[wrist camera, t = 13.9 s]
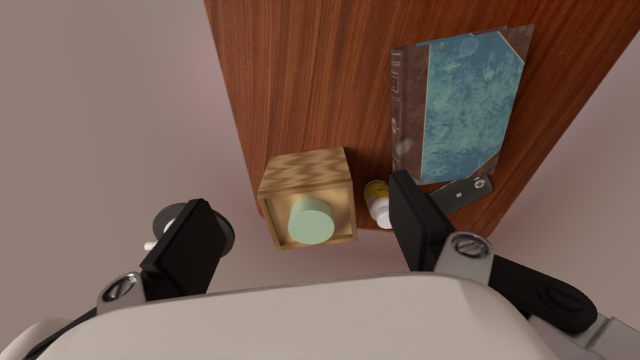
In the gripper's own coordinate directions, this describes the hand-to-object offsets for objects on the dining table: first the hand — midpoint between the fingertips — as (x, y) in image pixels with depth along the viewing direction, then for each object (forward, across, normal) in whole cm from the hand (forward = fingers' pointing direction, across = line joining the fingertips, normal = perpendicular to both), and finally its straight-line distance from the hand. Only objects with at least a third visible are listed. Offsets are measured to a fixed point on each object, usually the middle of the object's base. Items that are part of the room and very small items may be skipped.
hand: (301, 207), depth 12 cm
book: (+31, -22, +7) cm, 38 cm away
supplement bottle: (+31, -10, +22) cm, 39 cm away
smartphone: (+30, -27, +26) cm, 48 cm away
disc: (+19, +2, +16) cm, 25 cm away
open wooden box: (+30, +2, +16) cm, 35 cm away
